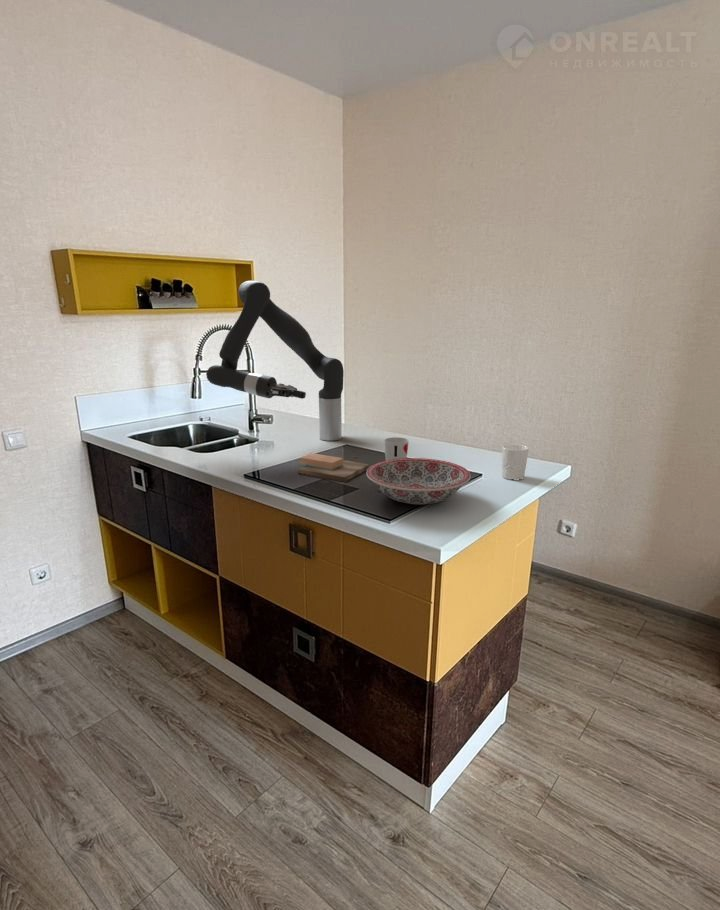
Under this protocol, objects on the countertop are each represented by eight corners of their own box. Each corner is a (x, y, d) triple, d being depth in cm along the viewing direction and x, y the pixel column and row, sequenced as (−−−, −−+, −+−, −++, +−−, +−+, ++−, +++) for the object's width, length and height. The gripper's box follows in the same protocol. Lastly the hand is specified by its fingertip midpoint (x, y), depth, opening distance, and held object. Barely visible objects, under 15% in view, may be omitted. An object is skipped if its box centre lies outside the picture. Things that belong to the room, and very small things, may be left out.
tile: (311, 453, 182) (342, 458, 176) (311, 459, 183) (342, 465, 176) (300, 457, 177) (332, 462, 170) (300, 464, 177) (332, 469, 171)
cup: (391, 473, 172) (392, 444, 169) (379, 467, 179) (379, 438, 176) (412, 470, 176) (413, 441, 173) (399, 464, 182) (400, 436, 180)
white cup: (522, 482, 163) (524, 451, 160) (497, 478, 167) (499, 448, 164) (528, 476, 169) (531, 446, 166) (504, 472, 173) (506, 443, 170)
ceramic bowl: (469, 522, 133) (470, 492, 131) (356, 514, 138) (356, 485, 136) (469, 485, 160) (470, 460, 158) (375, 479, 166) (375, 455, 164)
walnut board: (324, 461, 186) (324, 457, 185) (369, 468, 177) (369, 464, 177) (298, 473, 172) (298, 469, 172) (344, 481, 164) (344, 477, 163)
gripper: (251, 376, 176) (297, 386, 171) (270, 373, 188) (314, 383, 183) (249, 397, 178) (294, 408, 173) (268, 394, 190) (311, 404, 185)
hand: (304, 395), depth 178 cm, fingers closed
